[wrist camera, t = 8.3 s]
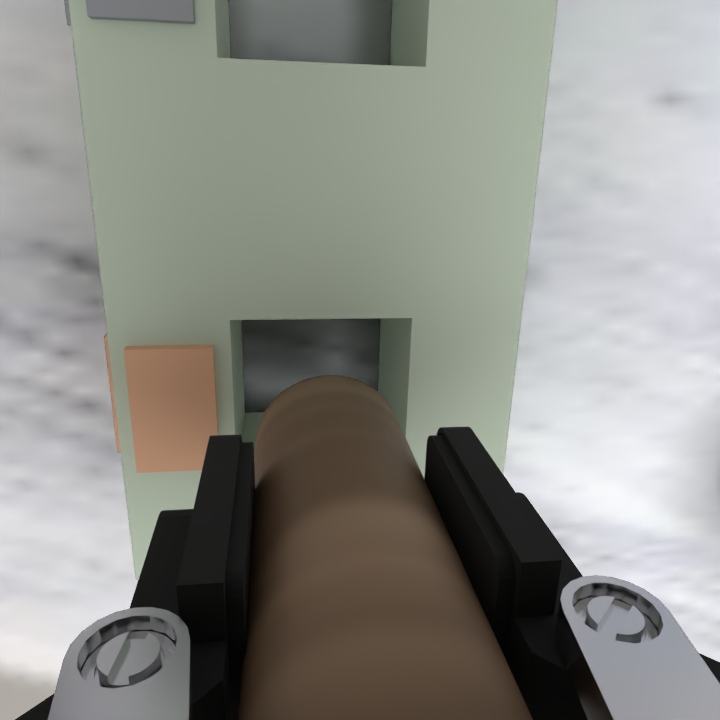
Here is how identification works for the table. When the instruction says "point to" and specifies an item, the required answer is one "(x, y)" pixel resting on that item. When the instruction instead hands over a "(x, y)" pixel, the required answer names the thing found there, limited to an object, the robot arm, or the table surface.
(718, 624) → the table surface
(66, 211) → the table surface
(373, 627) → the dowel
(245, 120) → the socket block
